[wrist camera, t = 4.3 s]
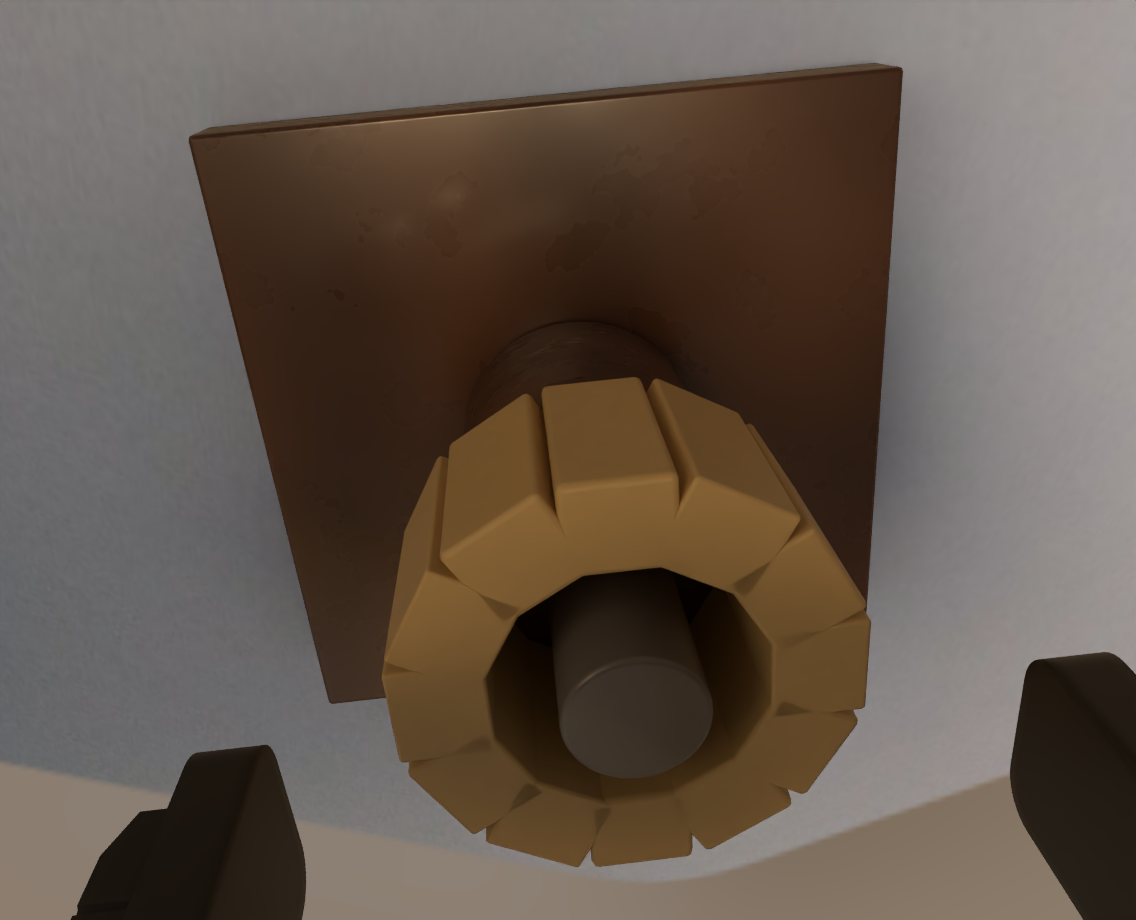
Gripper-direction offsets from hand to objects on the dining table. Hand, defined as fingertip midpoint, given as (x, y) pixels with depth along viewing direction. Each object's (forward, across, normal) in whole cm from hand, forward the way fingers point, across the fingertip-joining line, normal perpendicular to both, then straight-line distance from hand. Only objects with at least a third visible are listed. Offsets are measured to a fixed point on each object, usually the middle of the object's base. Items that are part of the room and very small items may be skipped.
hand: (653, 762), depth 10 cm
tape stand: (+10, 0, 0) cm, 10 cm away
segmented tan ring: (+4, 0, 0) cm, 4 cm away
